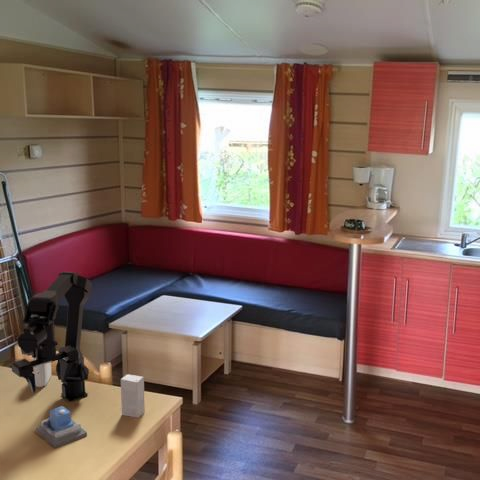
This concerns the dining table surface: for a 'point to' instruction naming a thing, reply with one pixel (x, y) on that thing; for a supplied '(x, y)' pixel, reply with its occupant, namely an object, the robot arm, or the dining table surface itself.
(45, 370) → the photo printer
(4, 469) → the dining table surface
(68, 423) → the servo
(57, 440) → the grey shallow tray
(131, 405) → the skincare box
